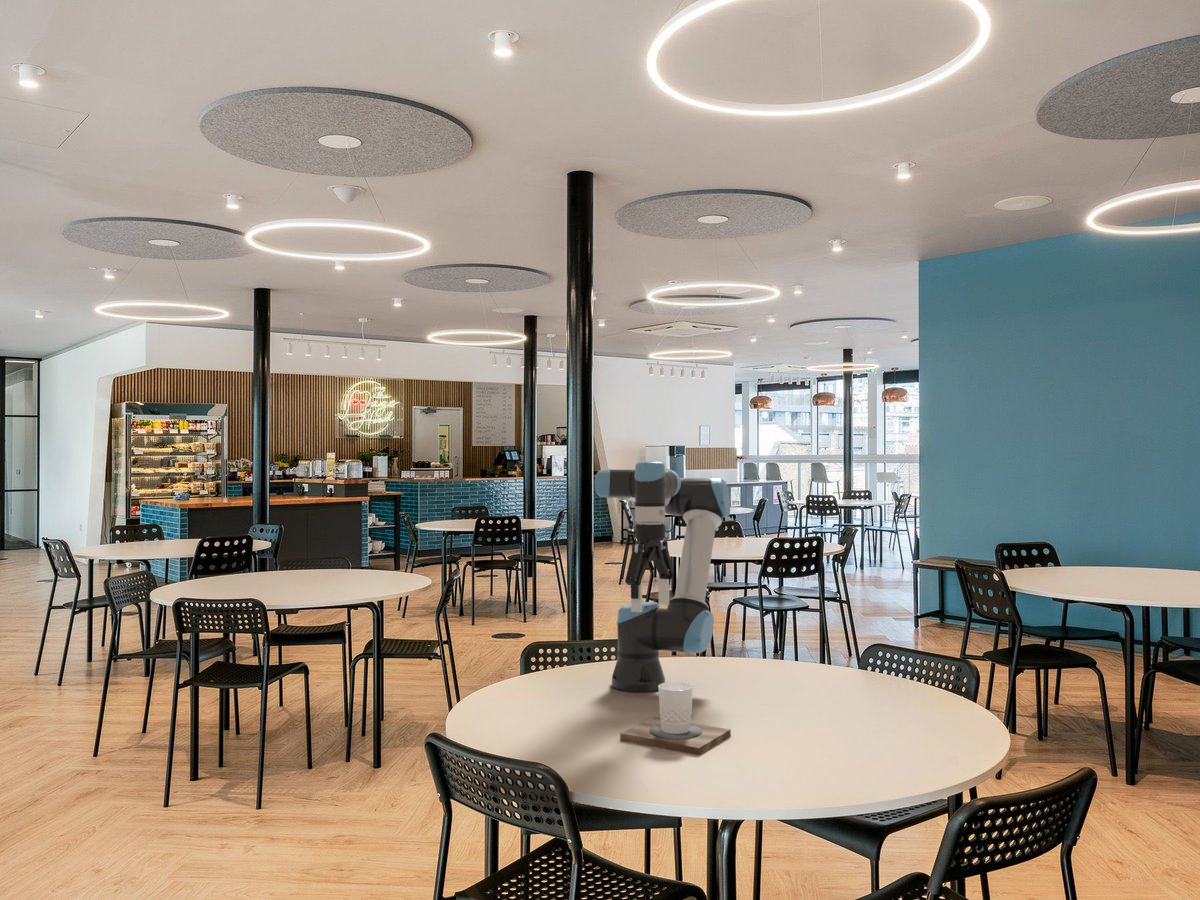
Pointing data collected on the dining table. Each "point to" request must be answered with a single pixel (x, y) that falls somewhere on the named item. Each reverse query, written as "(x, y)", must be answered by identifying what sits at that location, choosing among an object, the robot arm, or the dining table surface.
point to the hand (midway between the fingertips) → (650, 608)
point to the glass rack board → (676, 736)
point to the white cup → (675, 707)
